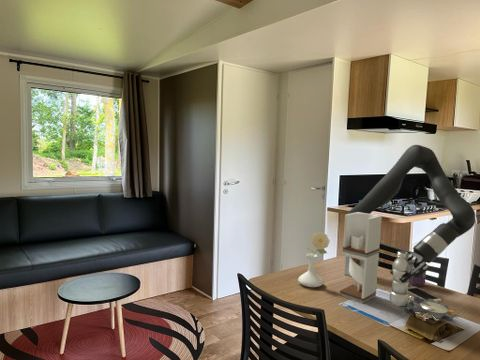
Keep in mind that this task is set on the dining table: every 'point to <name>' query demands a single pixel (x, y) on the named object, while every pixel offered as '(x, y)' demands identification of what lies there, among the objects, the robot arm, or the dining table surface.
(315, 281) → the flower in vase
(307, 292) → the dining table surface
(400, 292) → the silver bottle
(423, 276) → the beverage can
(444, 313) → the sprocket plate
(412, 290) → the smartphone
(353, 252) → the display case
